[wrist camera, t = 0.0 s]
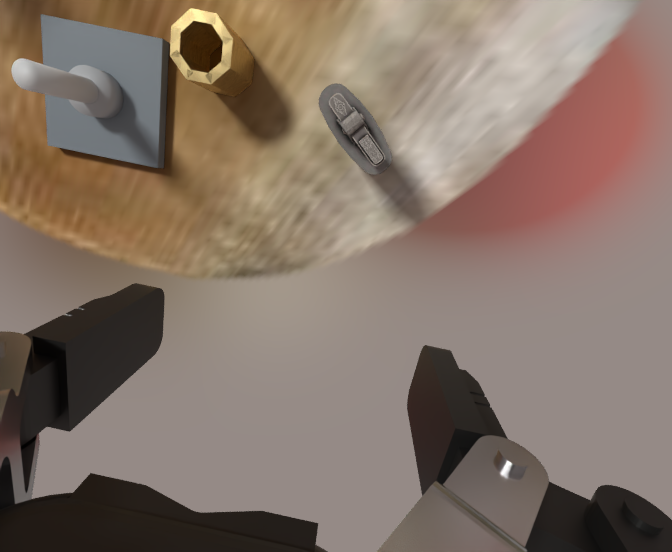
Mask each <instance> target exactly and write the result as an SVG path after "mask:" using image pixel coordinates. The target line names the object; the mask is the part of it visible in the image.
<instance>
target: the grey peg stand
mask: <svg viewBox="0 0 672 552" xmlns="http://www.w3.org/2000/svg"><path fill="white" fill-rule="evenodd" d="M41 29H42V47H43V64H40V63H37V62H33V61H30V60H27V59H18V60H16V61H15V62H14V63H13V66H12V76H13V78H14V80H15V82H16V83H17V85H18V86H19V87H21V88H22V89H25V90H29V91H33V92H38V93H42V94H45V103H46V121H47V140H48V145H49V146H54V147H58V148H63V149H68V150H73V151H78V152H83V153H87V154H92V155H97V156H102V157H107V158H111V159H116V160H121V161H126V162H131V163H135V164H140V165H145V166H150V167H155V168H164V153H165V129H166V106H167V82H168V59H169V43H168V42H167V41H165V40H164V39H161V38H156V37H151V36H146V35H141V34H136V33H131V32H126V31H121V30H116V29H112V28H107V27H102V26H97V25H92V24H87V23H82V22H77V21H72V20H67V19H62V18H57V17H52V16H47V15H42V14H41Z"/></svg>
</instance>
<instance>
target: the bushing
mask: <svg viewBox="0 0 672 552" xmlns="http://www.w3.org/2000/svg"><path fill="white" fill-rule="evenodd" d="M222 44H223V48H222V60H221V62H220V63H219V64H218V65H217V66H216V67H215V68H213V69H212V70H211V71H209V68H210V55H211V53H213V52H214V51H215V50H216V49H217V48H218V47H219V46H221V45H222ZM170 56H171V58H172V59H173V61H174V62H175V64H176V65H177V66H178V68H179V69H180V71H181V72H182V74H183V75H184V76H185V78H186V79H187V80H189V81H191V82H193V83H195V84H197V85H199V86H201V87H204V88H206V89H208V90H210V91H212V92H214V93H218V94H223V95H228V96H233V97H236V96H237V95H239V94H240V93H241V92H242V91H243V90H245V89H246V88H247V87H248V86H249V85H251V84H252V78H253V69H254V60H255V59H254V58H253V56H252V55H251V53H250V52H249V50H248V48H247V47H246V45H245V44H244V42H243V41H242V39H241V38H240V37H239V36H238V35H237V34H236V33H235V32H234V31H233V30H232V29H231V28H230V27H229V26H228V25H227V24H226V23H225V22H224V21H223V20H222V19H221V18H220V17H219V16H218V15H217V14H216V13H211V12H206V11H201V10H196V9H192V8H190V9H189V10H188V11H187V12H186V13H185V14H184V15H183V16H182V17H181V18H180V19H178V20H177V21H176V22H175V23H174V24H173V25H172V26H171V43H170Z"/></svg>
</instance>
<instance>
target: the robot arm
mask: <svg viewBox="0 0 672 552" xmlns="http://www.w3.org/2000/svg"><path fill="white" fill-rule="evenodd" d="M163 318H164V292H163V290H162V289H160V288H156V287H151V286H146V285H142V284H137V283H136V284H132V285H130V286H128V287H126V288H124V289H122V290H121V291H118V292H117V293H115V294H113V295H110V296H106V297H103V298H98V299H94V300H92V301H90V302H88V303H86V304H84V305H82V306H80V307H79V308H78V309H74V310H72V311H70V312H68V313H66V315H62V316H60V317H58V318H56V319H54V320H52V321H50V322H48V323H46V324H44V325H42V326H40V327H38V328H36V329H34V330H32V331H30V332H28V333H26V334H20V333H15V332H0V552H327V551H326V550H324V549H322V548H321V547H319V546H317V545H315V544H316V536H317V528H318V523H314V522H309V521H305V520H300V519H296V518H291V517H287V516H282V515H278V514H273V513H269V512H264V511H246V512H214V513H199V512H195V511H192V510H190V509H188V508H187V507H185V506H183V505H181V504H179V503H177V502H175V501H174V500H172V499H170V498H168V497H166V496H165V495H163V494H161V493H159V492H157V491H155V490H153V489H152V488H150V487H148V486H146V485H142V484H137V483H133V482H128V481H124V480H119V479H114V478H110V477H105V476H101V475H96V474H92V473H90V475H89V476H88V477H87V478H86V479H85V480H84V481H83V482H82V484H81V485H80V486H79V487H78V488H77V489H76V490H75V491H74V492H73V493H64V494H56V495H49V496H44V497H39V498H35V499H32V491H33V485H34V479H35V472H36V465H37V458H38V451H39V445H40V441H39V432H41V431H42V430H43V429H44V428H45V427H52V428H56V429H61V430H65V431H71V430H72V429H73V428H74V427H75V426H76V425H78V424H79V423H80V422H81V421H82V420H83V419H84V418H85V417H86V416H88V415H89V414H90V413H91V412H92V411H93V410H94V409H95V408H96V407H97V406H99V405H100V404H101V403H102V402H103V401H104V400H105V399H106V398H107V397H108V396H110V394H112V393H113V392H114V391H115V390H116V389H117V388H118V387H120V386H121V385H122V384H123V383H124V382H125V381H126V380H127V379H128V378H129V377H130V376H132V375H133V374H134V373H135V372H136V371H137V370H138V369H139V368H141V367H142V366H143V365H144V364H145V363H146V362H147V361H148V360H149V359H151V358H152V357H153V356H154V355H155V354H156V352H157V351H158V349H159V347H160V344H161V341H162V337H163ZM407 403H408V404H407V410H408V416H409V421H410V427H411V433H412V438H413V445H414V450H415V456H416V462H417V468H418V474H419V479H420V485H421V490H422V497H421V498H420V500H419V501H418V502H417V503H416V504H415V506H414V507H413V508H412V509H411V511H410V512H409V513H408V514H407V515H406V517H405V518H404V519H403V520H402V522H401V523H400V524H399V525H398V526H397V528H396V529H395V530H394V531H393V532H392V534H391V535H390V536H389V537H388V539H387V540H386V541H385V542H384V543H383V545H382V546H381V547H380V548H379V550H378V551H377V552H672V520H671V519H670V518H669V517H668V516H667V515H665V514H664V513H663V512H662V511H661V510H660V509H658V508H657V507H656V506H654V505H653V504H651V503H650V502H648V501H647V500H645V499H644V498H642V497H640V496H639V495H637V494H635V493H633V492H631V491H628V490H626V489H623V488H620V487H617V486H612V485H604V486H600V487H598V489H597V490H596V492H595V493H594V495H593V497H592V499H591V501H590V500H588V499H586V498H584V497H581V496H579V495H577V494H575V493H573V492H570V491H568V490H565V489H564V488H561V487H559V486H557V485H555V484H553V483H551V482H549V479H548V474H547V472H546V470H545V469H544V467H543V465H542V464H541V462H539V461H538V459H537V458H536V457H535V456H534V455H533V454H531V453H530V452H529V451H528V450H526V449H525V448H524V447H522V446H520V445H519V444H517V443H515V442H513V441H511V440H509V439H508V438H507V437H506V435H505V433H504V431H503V429H502V427H501V425H500V423H499V421H498V419H497V417H496V415H495V413H494V412H493V410H492V408H490V404H489V402H488V400H487V398H486V397H484V392H483V391H482V389H481V387H480V385H479V383H478V382H477V381H476V380H475V379H474V378H473V377H472V376H471V375H470V374H469V373H468V372H467V371H466V370H461V369H459V368H458V366H457V363H456V361H455V359H454V357H453V355H452V353H451V351H450V350H446V349H440V348H436V347H431V346H427V345H425V346H424V347H423V349H422V351H421V353H420V357H419V360H418V363H417V366H416V370H415V373H414V377H413V379H412V383H411V386H410V389H409V395H408V402H407Z"/></svg>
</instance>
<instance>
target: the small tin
mask: <svg viewBox="0 0 672 552" xmlns="http://www.w3.org/2000/svg"><path fill="white" fill-rule="evenodd" d="M319 107H320V110H321V112H322V114H323V116H324V118H325V120H326V122H327V124H328V127H329V128H330V130H331V131H332V133H333V135H334V136H335V138H336V139H337V141H338V142H339V144H340V145H341V146H342V148H343V149H344V150H345V151H346V152H347V154H348V155H349V156H350V157H351V158H352V159H353V160H354V161H355V162H356V163H357V164H358V165H359V166H360V167H361V168H362V169H363V170H364V171H366V172H367V173H369V174H373V175H376V174H380V173H382V172H384V171H385V170H386V169H387V168H388V167H389V165H390V163H391V160H392V154H391V151H390V149H389V146H388V144H387V142H386V140H385V137H384V135H383V133H382V131H381V130H380V128H379V126H378V125H377V123H376V121H375V120H374V118H373V116H372V115H371V114H370V113H369V112H368V110H367V109H366V108H365V107H364V105H363V104H362V103H361V102H360V100H358V99H357V98H356V97H355V96H354V95H353V94H352V93H351V92H350V91H349V90H348V89H347V88H346V87H345V86H343V85H341V84H332V85H329V86H328V87H326V88H325V89H324V90H323V92H322V93H321V95H320V98H319Z"/></svg>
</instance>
